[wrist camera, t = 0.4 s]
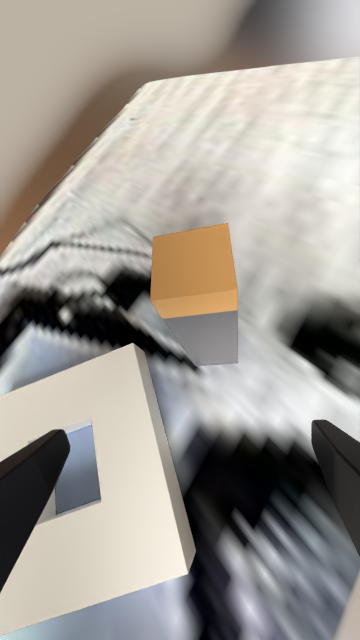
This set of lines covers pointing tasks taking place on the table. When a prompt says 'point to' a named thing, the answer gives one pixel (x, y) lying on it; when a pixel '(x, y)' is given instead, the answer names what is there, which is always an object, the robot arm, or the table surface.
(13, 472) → the robot arm
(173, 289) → the plug
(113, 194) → the table surface
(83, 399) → the socket block
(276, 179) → the table surface
